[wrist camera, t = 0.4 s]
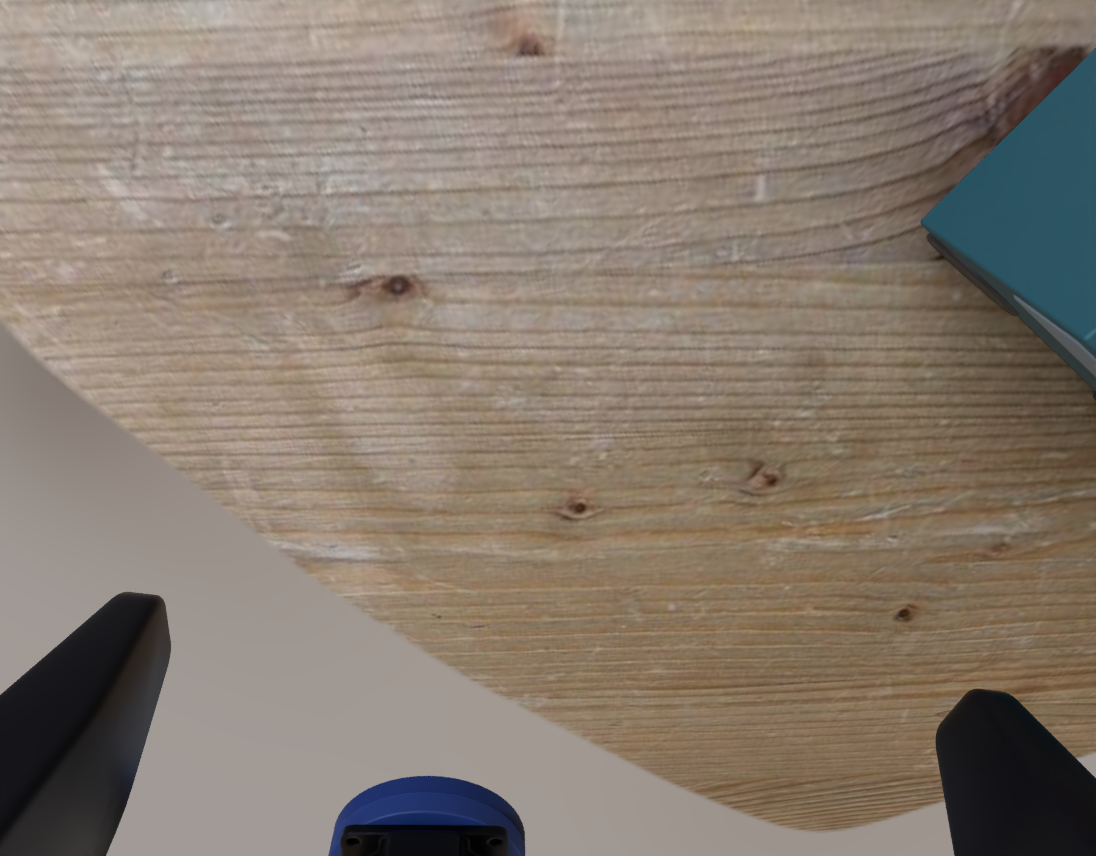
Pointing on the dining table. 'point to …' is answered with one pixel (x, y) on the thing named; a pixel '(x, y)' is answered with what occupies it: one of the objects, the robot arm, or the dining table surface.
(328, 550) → the dining table surface
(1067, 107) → the toy van
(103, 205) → the dining table surface
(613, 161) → the dining table surface
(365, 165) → the dining table surface
